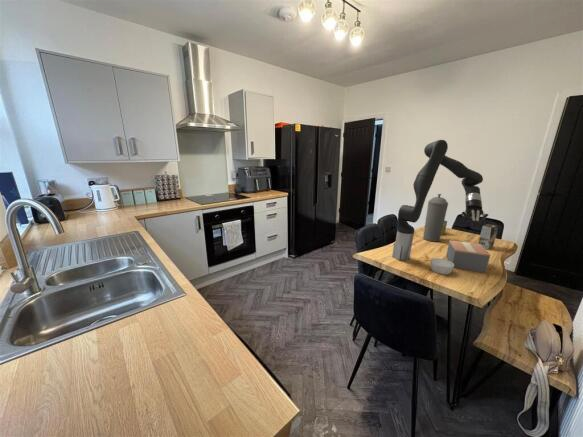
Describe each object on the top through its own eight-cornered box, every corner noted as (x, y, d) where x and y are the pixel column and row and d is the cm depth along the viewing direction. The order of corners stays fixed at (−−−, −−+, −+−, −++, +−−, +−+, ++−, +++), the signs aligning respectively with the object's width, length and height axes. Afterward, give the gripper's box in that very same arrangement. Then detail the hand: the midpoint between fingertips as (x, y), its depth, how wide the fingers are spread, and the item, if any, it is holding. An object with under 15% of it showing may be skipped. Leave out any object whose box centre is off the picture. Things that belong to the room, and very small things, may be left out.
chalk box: (436, 235, 188) (439, 217, 184) (426, 231, 197) (430, 214, 193) (445, 234, 191) (448, 217, 187) (435, 231, 199) (439, 214, 195)
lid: (490, 256, 128) (490, 254, 127) (455, 251, 133) (455, 249, 133) (480, 245, 142) (480, 244, 142) (449, 241, 148) (449, 240, 147)
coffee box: (488, 250, 161) (493, 227, 157) (477, 247, 166) (482, 225, 162) (493, 247, 166) (499, 225, 161) (482, 244, 171) (487, 223, 167)
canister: (444, 242, 174) (454, 195, 165) (428, 242, 173) (437, 195, 164) (433, 236, 187) (442, 192, 177) (418, 236, 186) (425, 192, 176)
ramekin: (424, 268, 135) (426, 259, 134) (437, 264, 140) (439, 256, 138) (443, 277, 125) (445, 268, 124) (457, 273, 130) (458, 264, 128)
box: (485, 272, 130) (490, 256, 128) (451, 267, 136) (455, 251, 133) (476, 260, 145) (480, 245, 142) (446, 256, 150) (449, 241, 148)
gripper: (462, 197, 138) (463, 223, 130) (490, 199, 133) (492, 226, 126) (458, 204, 144) (459, 229, 137) (484, 207, 139) (486, 232, 132)
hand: (475, 227), depth 131 cm, fingers closed
